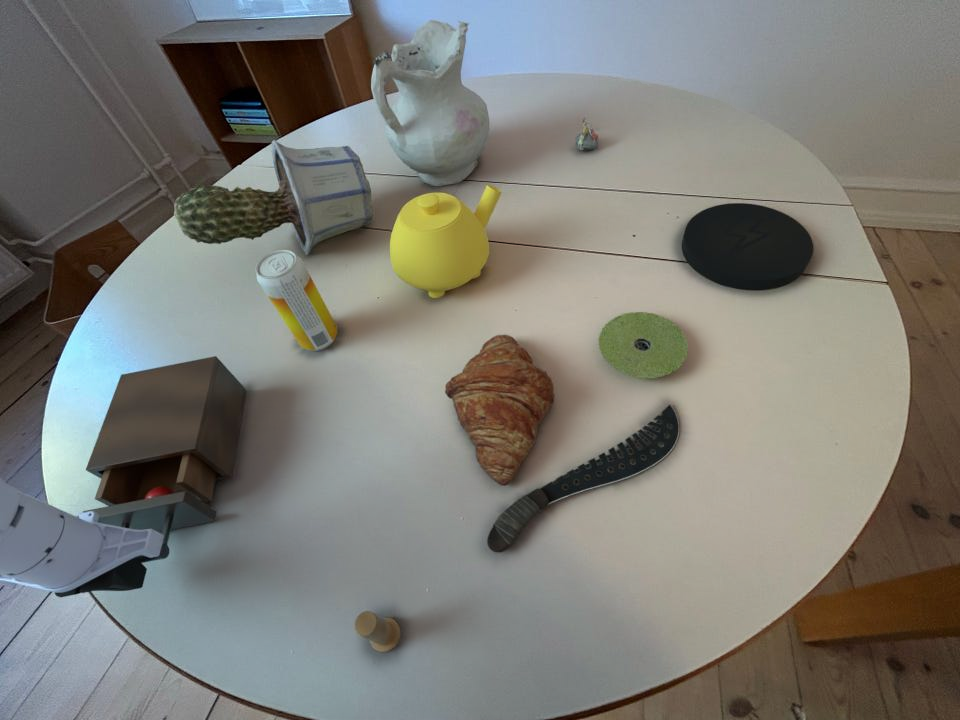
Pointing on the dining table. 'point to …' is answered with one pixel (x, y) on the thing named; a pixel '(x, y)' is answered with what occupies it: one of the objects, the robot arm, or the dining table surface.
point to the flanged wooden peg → (378, 630)
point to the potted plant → (284, 200)
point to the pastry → (501, 404)
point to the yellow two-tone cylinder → (296, 299)
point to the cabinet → (172, 417)
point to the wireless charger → (747, 246)
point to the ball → (158, 492)
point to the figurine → (586, 138)
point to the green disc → (643, 345)
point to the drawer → (163, 512)
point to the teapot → (441, 241)
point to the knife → (539, 499)
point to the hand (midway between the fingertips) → (138, 579)
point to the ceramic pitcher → (432, 105)
